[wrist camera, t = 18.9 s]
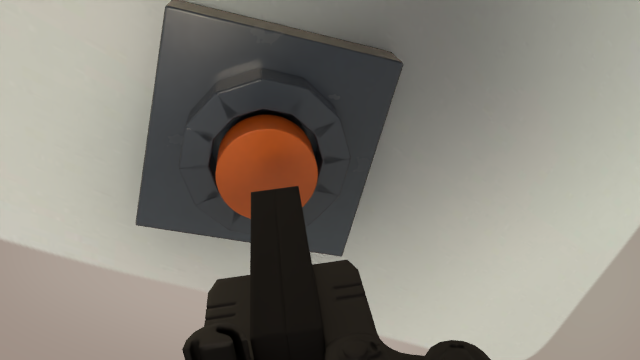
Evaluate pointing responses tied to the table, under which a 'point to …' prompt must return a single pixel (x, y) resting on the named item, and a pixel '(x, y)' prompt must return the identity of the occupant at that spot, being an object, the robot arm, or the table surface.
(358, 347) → the robot arm
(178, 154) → the control box
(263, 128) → the button
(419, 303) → the table surface
